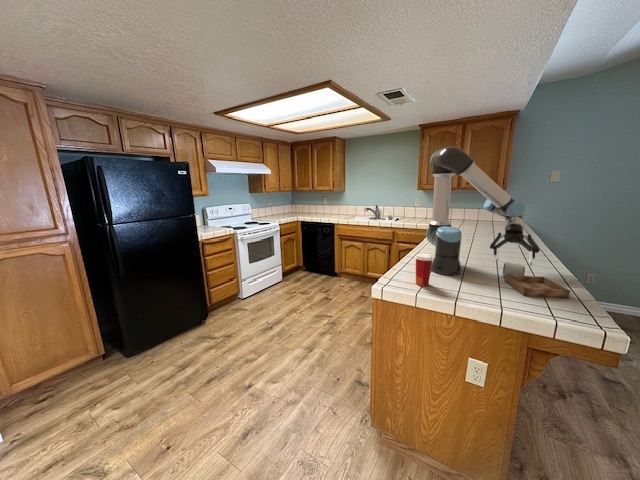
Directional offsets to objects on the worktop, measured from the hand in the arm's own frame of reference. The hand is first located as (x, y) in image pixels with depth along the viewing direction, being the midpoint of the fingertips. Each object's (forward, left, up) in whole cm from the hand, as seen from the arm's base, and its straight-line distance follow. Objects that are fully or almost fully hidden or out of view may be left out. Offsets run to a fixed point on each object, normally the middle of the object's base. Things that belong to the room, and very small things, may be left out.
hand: (513, 261), depth 127 cm
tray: (+1, -16, -8) cm, 18 cm away
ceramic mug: (0, -1, -8) cm, 8 cm away
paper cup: (-46, -17, -8) cm, 49 cm away
